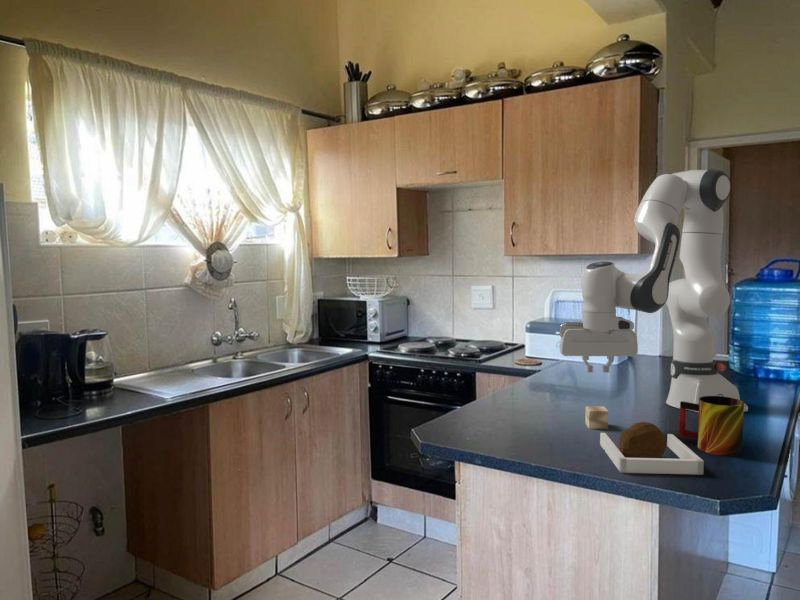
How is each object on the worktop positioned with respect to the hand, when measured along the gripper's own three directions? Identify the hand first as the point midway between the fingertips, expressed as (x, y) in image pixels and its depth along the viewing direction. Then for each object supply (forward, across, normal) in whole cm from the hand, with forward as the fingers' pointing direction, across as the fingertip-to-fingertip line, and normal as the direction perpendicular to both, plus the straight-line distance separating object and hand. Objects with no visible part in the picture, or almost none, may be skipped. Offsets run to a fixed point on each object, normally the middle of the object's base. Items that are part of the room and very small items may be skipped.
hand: (597, 372), depth 168 cm
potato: (+15, +4, -26) cm, 31 cm away
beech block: (+15, 0, 0) cm, 15 cm away
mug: (+15, +23, -17) cm, 33 cm away
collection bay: (+15, +6, -25) cm, 30 cm away
